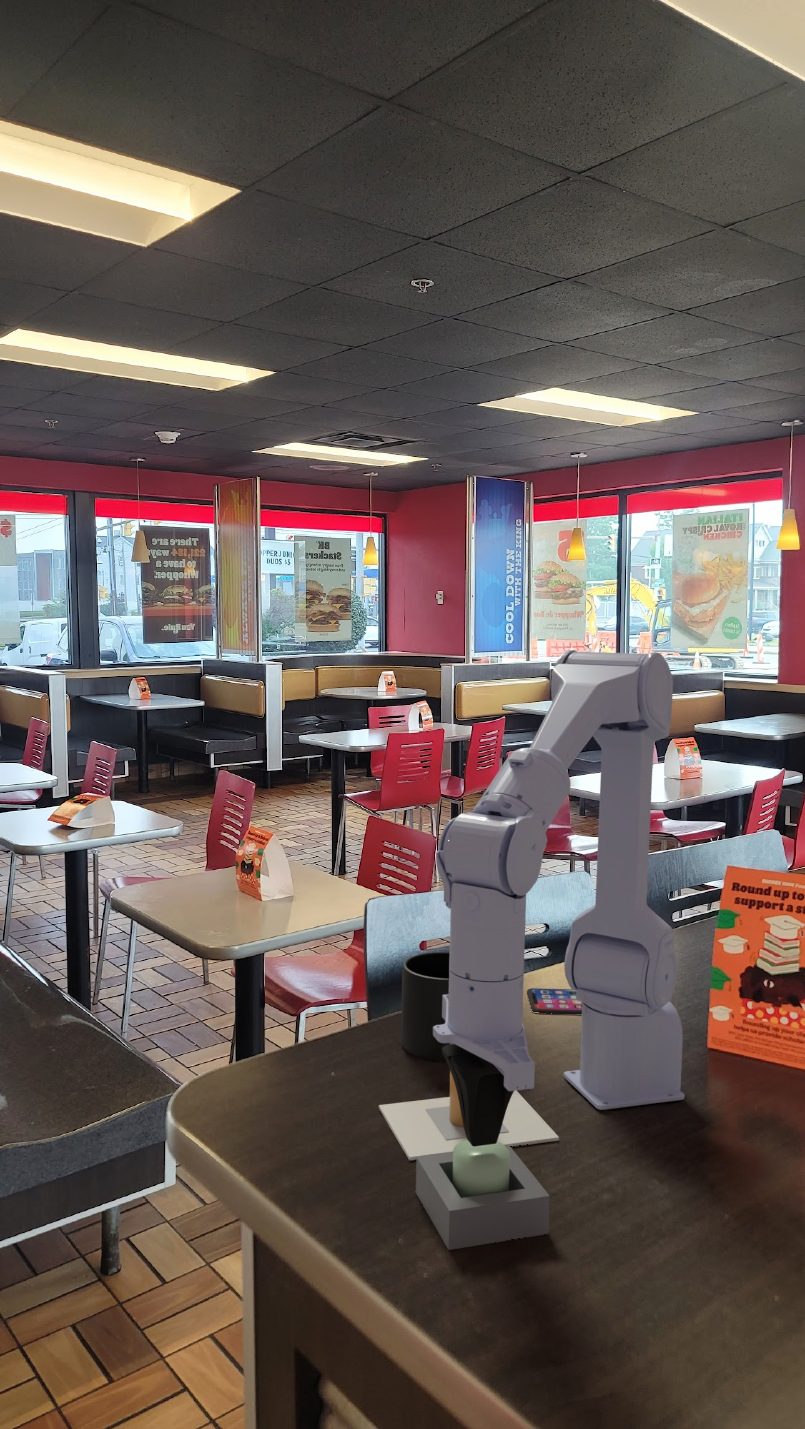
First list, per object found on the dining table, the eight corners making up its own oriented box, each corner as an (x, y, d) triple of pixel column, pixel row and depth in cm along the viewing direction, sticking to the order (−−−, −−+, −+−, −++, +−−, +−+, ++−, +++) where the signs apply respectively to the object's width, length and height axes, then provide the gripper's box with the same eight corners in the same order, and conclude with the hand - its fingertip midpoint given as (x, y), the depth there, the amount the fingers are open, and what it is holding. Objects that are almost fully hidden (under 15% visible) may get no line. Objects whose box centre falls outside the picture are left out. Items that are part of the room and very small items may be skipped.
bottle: (476, 1110, 97) (477, 1037, 96) (488, 1125, 94) (489, 1050, 93) (443, 1113, 96) (444, 1040, 95) (454, 1129, 93) (456, 1053, 92)
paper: (515, 1092, 102) (515, 1088, 102) (558, 1140, 92) (558, 1136, 92) (378, 1108, 98) (378, 1104, 98) (409, 1160, 88) (409, 1156, 88)
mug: (499, 1072, 106) (501, 987, 105) (389, 1055, 110) (391, 972, 109) (518, 1038, 115) (520, 959, 114) (415, 1024, 119) (417, 947, 118)
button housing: (507, 1179, 85) (508, 1144, 85) (548, 1233, 78) (549, 1195, 77) (415, 1192, 83) (416, 1156, 83) (448, 1249, 75) (449, 1210, 75)
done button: (496, 1171, 83) (497, 1135, 83) (517, 1200, 79) (518, 1162, 78) (444, 1178, 82) (445, 1142, 81) (463, 1208, 77) (464, 1170, 77)
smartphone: (658, 1013, 123) (532, 1010, 123) (658, 1021, 123) (532, 1017, 123) (645, 990, 130) (526, 987, 130) (645, 997, 130) (526, 994, 130)
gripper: (408, 945, 85) (405, 1105, 86) (470, 1007, 71) (465, 1197, 72) (488, 939, 87) (484, 1095, 88) (564, 999, 73) (557, 1183, 74)
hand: (481, 1140), depth 80 cm, fingers closed
